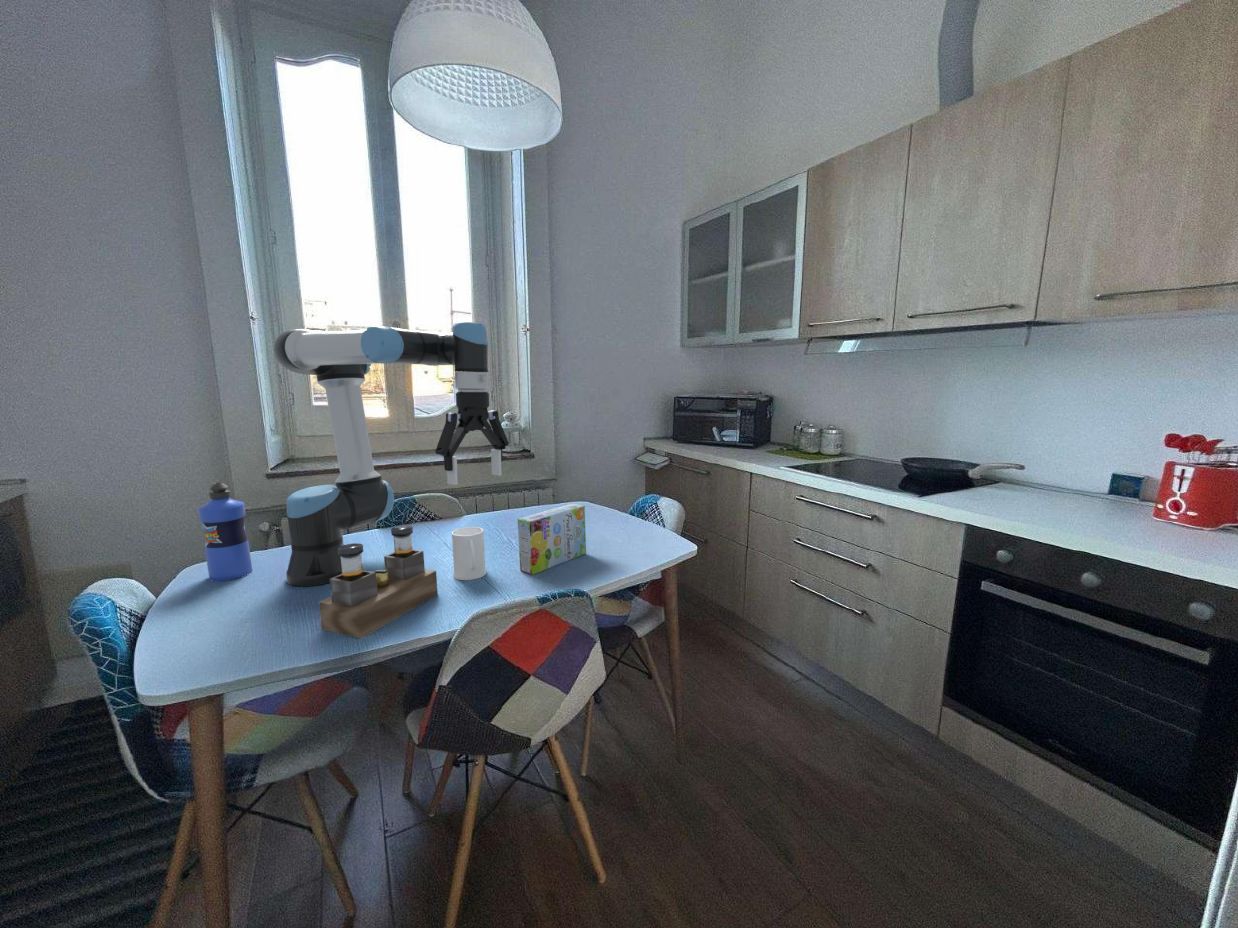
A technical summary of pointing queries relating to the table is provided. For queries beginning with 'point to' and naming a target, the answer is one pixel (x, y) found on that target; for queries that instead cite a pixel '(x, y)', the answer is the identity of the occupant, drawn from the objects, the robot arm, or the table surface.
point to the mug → (468, 553)
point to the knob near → (351, 561)
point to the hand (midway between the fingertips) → (475, 479)
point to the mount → (377, 596)
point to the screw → (382, 578)
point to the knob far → (402, 541)
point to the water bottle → (225, 535)
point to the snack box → (551, 537)
